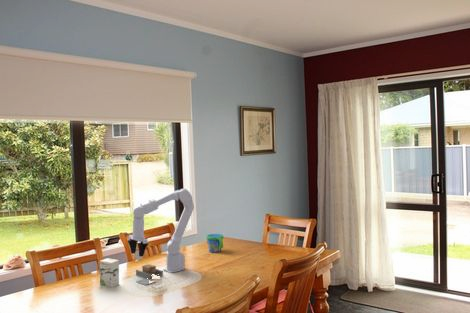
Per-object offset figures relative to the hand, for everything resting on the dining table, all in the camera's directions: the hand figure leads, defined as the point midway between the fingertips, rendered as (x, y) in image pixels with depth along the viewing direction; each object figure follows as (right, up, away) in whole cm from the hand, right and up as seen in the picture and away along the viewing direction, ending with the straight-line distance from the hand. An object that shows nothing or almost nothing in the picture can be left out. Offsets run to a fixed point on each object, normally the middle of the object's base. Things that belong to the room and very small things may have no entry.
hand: (137, 254), depth 222 cm
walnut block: (+7, -10, -4) cm, 13 cm away
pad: (+8, -10, -16) cm, 20 cm away
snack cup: (+39, -8, +43) cm, 59 cm away
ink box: (-9, -11, -18) cm, 22 cm away
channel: (+7, -10, -5) cm, 13 cm away
